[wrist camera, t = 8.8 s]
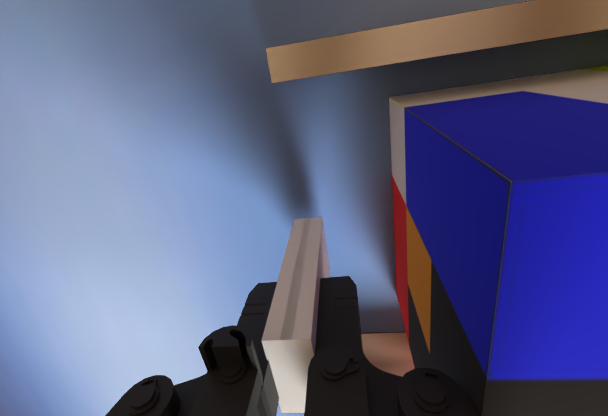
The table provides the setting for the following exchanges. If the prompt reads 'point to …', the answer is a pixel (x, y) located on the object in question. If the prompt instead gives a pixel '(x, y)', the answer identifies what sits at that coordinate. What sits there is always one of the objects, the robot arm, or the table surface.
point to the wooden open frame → (425, 44)
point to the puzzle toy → (507, 239)
